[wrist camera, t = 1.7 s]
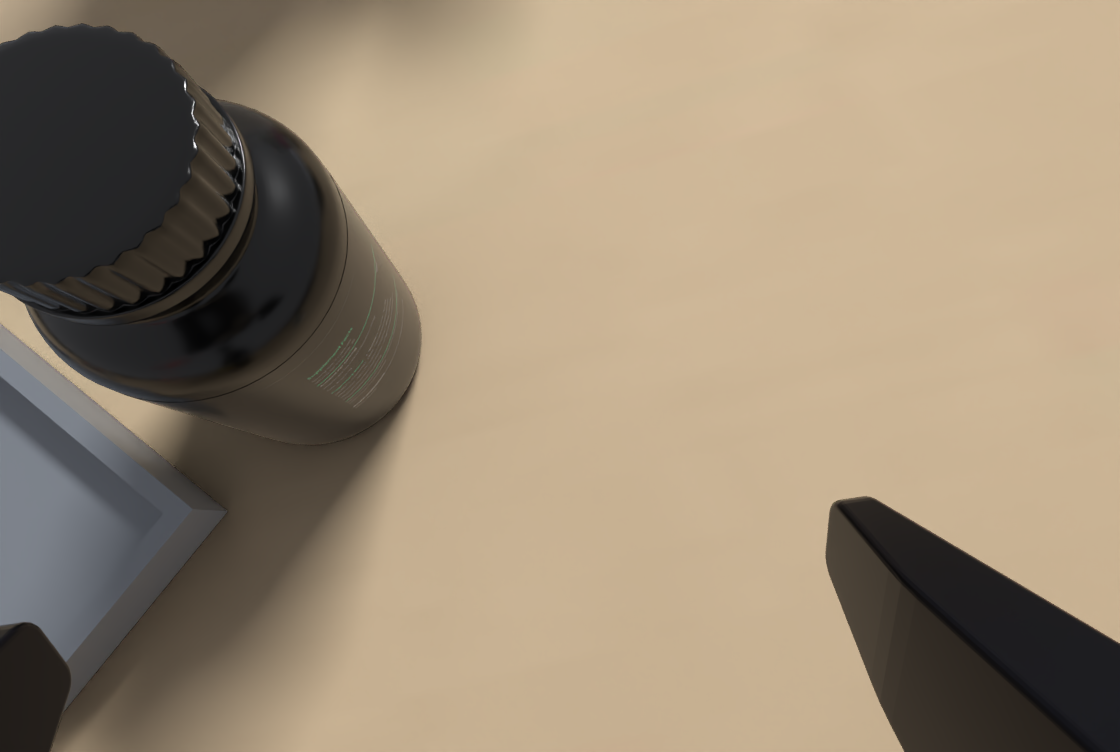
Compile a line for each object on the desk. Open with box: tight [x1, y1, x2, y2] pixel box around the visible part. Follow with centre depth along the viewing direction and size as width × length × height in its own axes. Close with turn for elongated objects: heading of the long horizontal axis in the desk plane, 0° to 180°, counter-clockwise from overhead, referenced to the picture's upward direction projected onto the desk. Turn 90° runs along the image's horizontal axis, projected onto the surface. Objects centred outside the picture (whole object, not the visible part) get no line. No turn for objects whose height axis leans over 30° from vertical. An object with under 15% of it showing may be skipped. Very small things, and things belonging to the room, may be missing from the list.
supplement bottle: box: [0, 23, 421, 445], centre depth 17 cm, size 7×7×12 cm
